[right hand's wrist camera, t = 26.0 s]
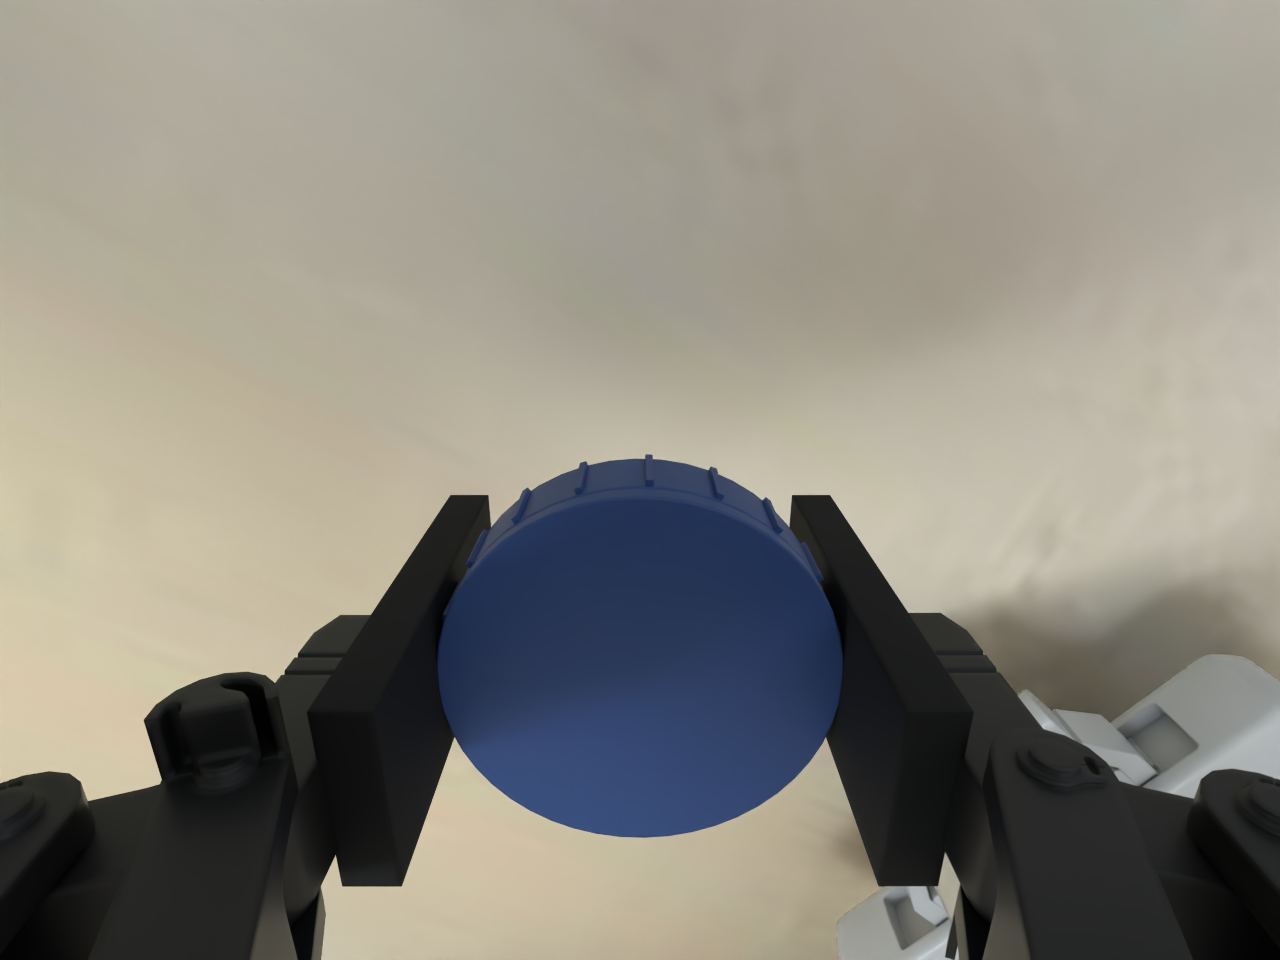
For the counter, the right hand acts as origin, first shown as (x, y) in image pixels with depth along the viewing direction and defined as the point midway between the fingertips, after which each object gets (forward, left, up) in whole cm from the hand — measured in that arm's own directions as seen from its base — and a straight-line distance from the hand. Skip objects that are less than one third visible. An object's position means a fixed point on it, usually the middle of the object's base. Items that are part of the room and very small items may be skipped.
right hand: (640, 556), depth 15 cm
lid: (0, 0, +4) cm, 4 cm away
